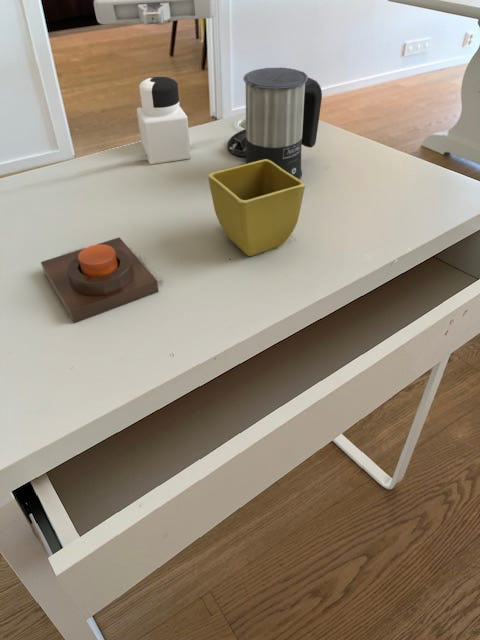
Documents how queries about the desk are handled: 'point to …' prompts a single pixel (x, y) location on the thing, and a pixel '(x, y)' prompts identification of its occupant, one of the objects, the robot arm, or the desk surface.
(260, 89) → the milk frother
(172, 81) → the medicine bottle
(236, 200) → the flower pot
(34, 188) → the desk surface
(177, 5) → the robot arm
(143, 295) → the button base
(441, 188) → the desk surface
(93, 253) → the button
